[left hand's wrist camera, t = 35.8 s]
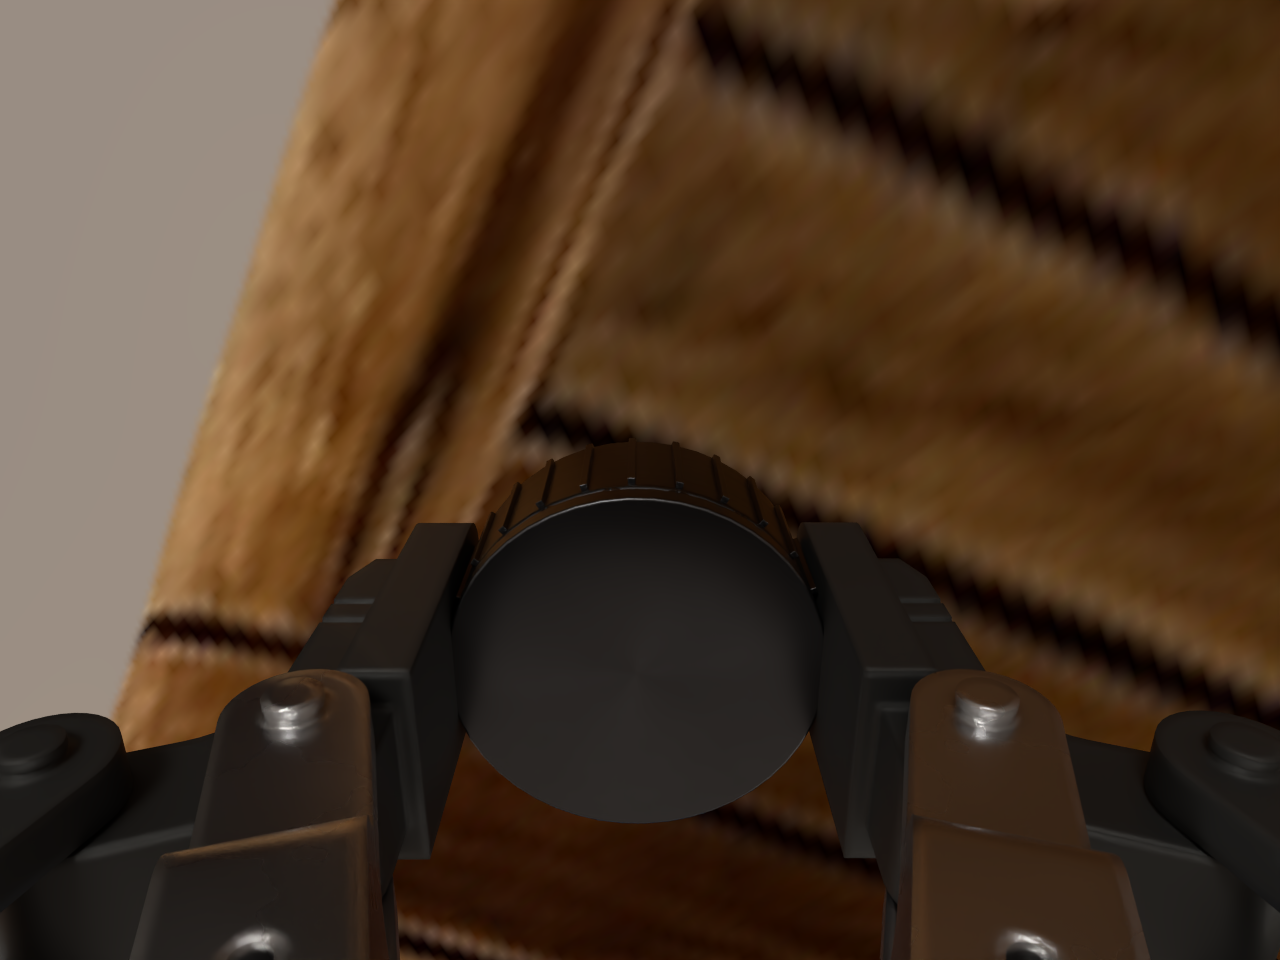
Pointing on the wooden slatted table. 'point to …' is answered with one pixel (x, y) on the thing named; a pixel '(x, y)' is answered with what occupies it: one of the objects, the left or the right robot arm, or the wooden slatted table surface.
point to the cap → (637, 635)
